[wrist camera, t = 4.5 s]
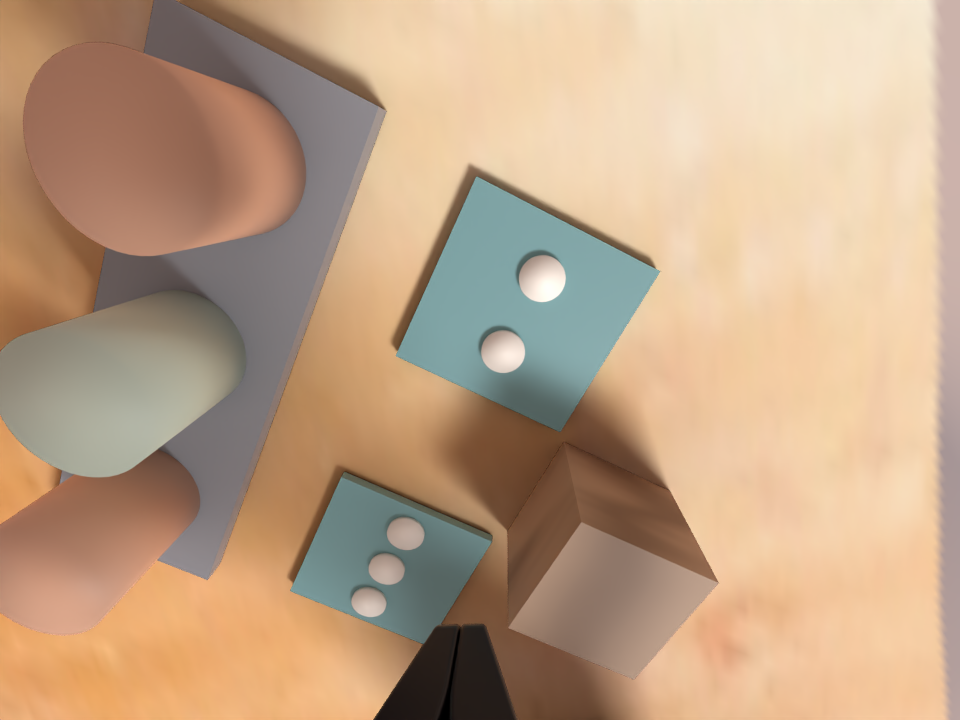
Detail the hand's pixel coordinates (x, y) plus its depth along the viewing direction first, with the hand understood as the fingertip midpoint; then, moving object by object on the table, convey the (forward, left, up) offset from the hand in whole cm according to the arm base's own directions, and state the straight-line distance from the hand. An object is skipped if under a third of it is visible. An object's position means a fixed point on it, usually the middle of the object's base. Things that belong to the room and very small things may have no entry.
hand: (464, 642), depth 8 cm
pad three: (0, +10, -11) cm, 15 cm away
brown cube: (-6, +3, -11) cm, 13 cm away
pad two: (0, -3, -11) cm, 12 cm away
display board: (+11, +3, -11) cm, 16 cm away
